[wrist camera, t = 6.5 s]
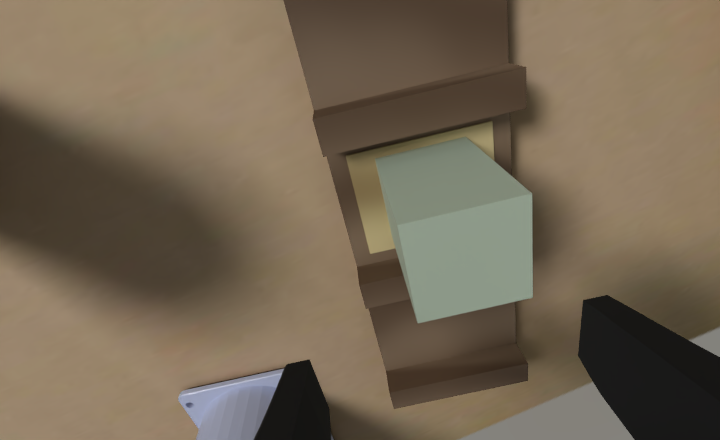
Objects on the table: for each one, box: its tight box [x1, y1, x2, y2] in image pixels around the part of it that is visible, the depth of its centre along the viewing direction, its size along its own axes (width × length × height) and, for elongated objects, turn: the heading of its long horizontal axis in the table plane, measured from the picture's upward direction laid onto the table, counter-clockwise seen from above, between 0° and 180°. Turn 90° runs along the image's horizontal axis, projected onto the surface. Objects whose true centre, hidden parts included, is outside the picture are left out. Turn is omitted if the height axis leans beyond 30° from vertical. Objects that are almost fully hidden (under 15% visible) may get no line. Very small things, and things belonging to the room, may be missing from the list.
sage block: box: [375, 137, 533, 323], centre depth 15 cm, size 4×4×6 cm
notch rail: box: [284, 0, 528, 409], centre depth 17 cm, size 26×8×2 cm, turn 13°
